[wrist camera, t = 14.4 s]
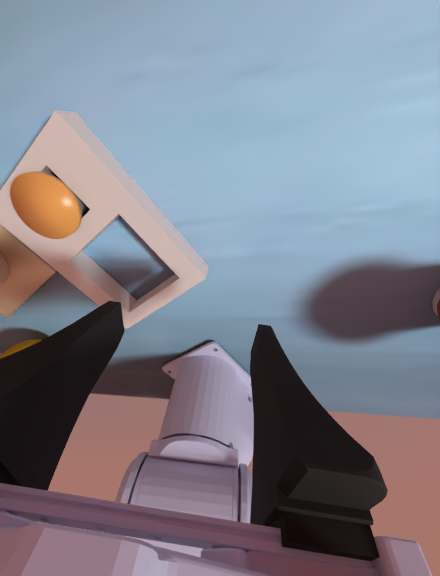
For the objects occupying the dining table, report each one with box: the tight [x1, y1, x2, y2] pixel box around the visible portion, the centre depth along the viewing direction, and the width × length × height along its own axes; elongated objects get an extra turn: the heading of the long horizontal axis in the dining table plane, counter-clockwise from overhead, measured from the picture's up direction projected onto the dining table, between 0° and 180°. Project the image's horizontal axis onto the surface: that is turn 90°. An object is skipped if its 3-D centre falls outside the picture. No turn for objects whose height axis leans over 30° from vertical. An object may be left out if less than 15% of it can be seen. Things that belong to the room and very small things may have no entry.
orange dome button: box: [10, 171, 89, 239], centre depth 18 cm, size 4×4×3 cm
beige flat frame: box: [0, 110, 209, 329], centre depth 20 cm, size 14×10×2 cm
